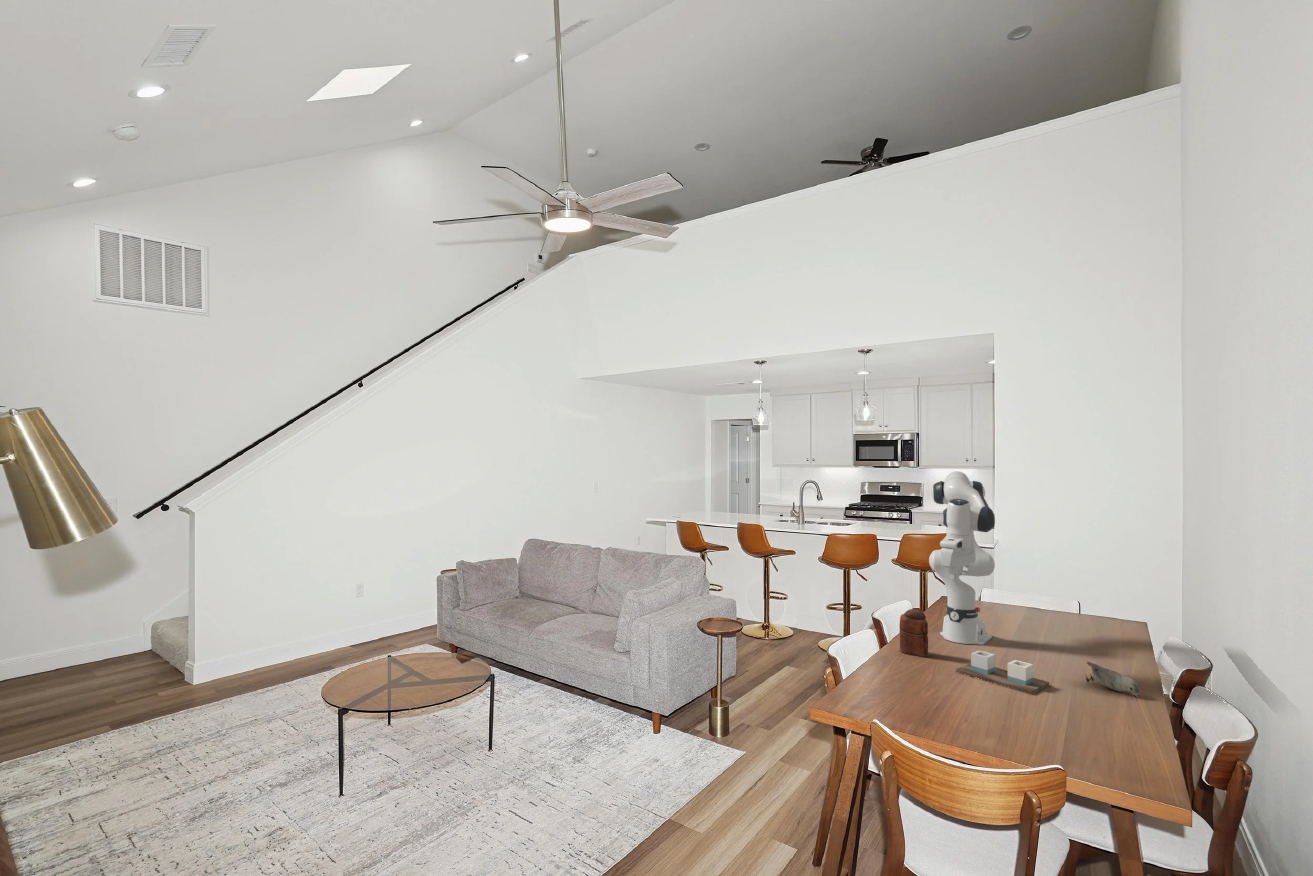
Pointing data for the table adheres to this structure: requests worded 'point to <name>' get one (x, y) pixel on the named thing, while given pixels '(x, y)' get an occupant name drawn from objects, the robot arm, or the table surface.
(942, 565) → the robot arm
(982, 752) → the table surface
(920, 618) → the brown leather case
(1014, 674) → the cream sleeve
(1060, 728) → the table surface
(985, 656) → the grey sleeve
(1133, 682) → the decorative bird
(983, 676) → the pin board
